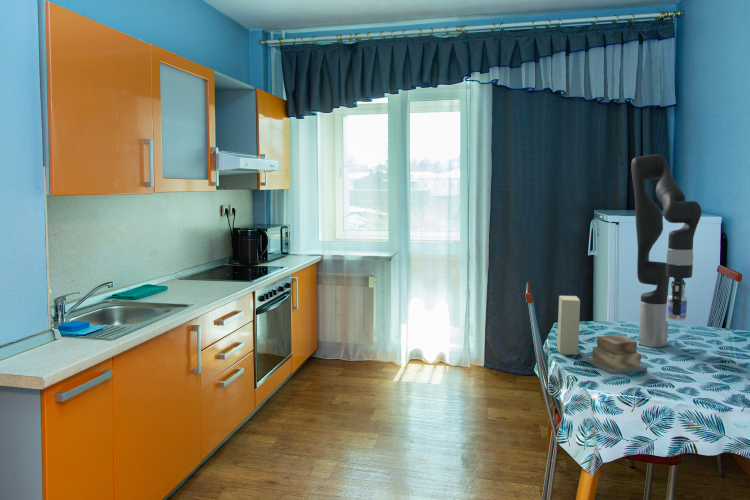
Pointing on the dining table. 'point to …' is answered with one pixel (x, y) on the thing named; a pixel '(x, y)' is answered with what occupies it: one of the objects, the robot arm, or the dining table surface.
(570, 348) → the tall beige block
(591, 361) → the base plate
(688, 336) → the dining table surface
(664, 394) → the dining table surface
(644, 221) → the robot arm
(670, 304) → the pill bottle
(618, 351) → the brown block
